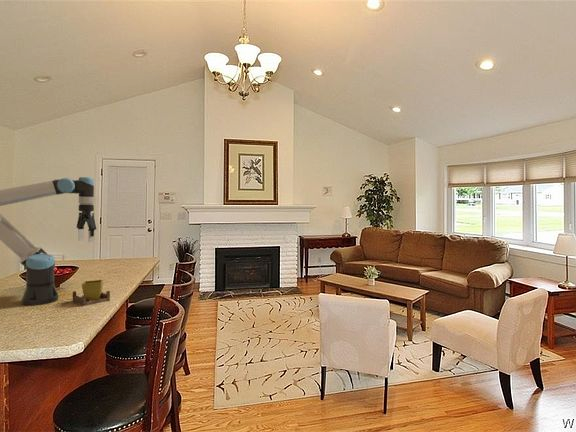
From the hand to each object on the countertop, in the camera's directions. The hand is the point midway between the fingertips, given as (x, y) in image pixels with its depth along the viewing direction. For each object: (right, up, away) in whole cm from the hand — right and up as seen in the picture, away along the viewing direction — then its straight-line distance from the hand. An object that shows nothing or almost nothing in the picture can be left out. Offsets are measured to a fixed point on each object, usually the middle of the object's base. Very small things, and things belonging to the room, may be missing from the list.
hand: (86, 241), depth 198 cm
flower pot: (+16, -29, -20) cm, 38 cm away
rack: (+14, -30, -19) cm, 38 cm away
